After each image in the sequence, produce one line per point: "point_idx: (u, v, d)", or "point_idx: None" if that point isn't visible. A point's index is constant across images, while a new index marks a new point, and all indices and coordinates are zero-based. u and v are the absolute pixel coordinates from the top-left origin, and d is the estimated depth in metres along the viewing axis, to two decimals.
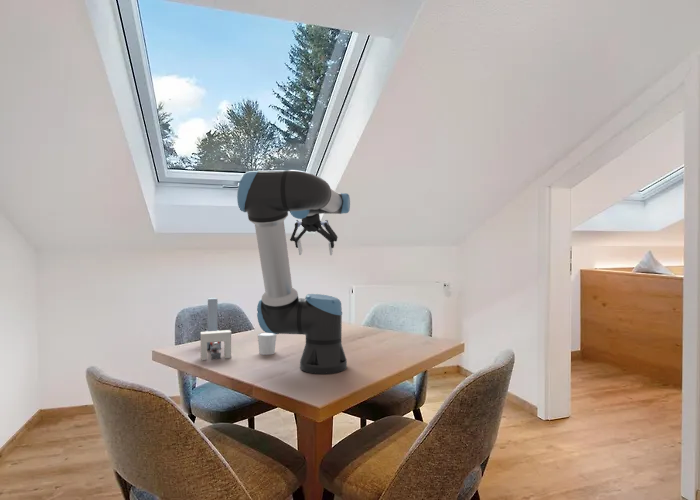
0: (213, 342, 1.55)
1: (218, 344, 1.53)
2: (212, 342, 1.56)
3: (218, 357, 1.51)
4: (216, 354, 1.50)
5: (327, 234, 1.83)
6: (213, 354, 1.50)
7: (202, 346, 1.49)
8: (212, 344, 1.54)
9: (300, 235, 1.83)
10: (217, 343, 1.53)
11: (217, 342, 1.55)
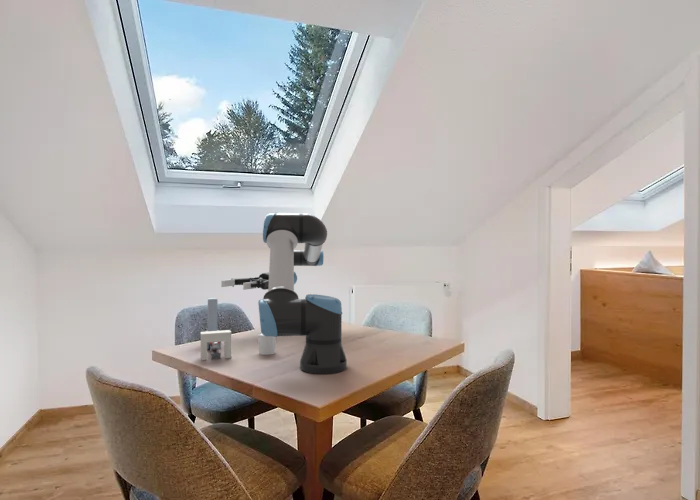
0: (213, 342, 1.55)
1: (218, 344, 1.53)
2: (212, 342, 1.56)
3: (218, 357, 1.51)
4: (216, 354, 1.50)
5: None
6: (213, 354, 1.50)
7: (202, 346, 1.49)
8: (212, 344, 1.54)
9: (243, 279, 1.92)
10: (217, 343, 1.53)
11: (217, 342, 1.55)
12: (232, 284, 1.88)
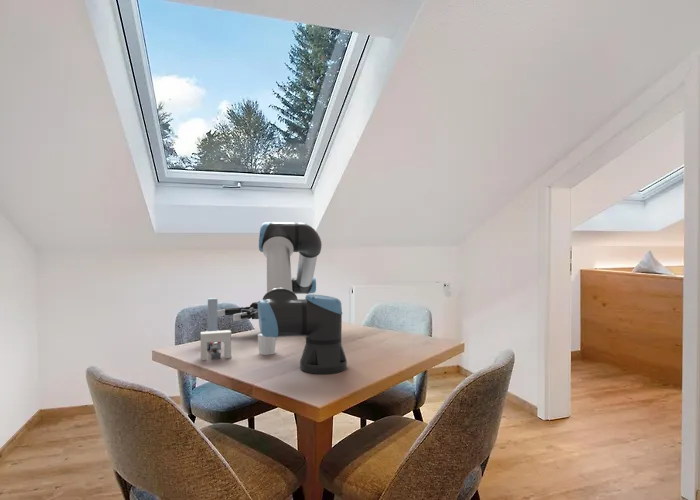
0: (213, 342, 1.55)
1: (218, 344, 1.53)
2: (212, 342, 1.56)
3: (218, 357, 1.51)
4: (216, 354, 1.50)
5: None
6: (213, 354, 1.50)
7: (202, 346, 1.49)
8: (212, 344, 1.54)
9: (233, 309, 1.89)
10: (217, 343, 1.53)
11: (217, 342, 1.55)
12: (222, 314, 1.85)
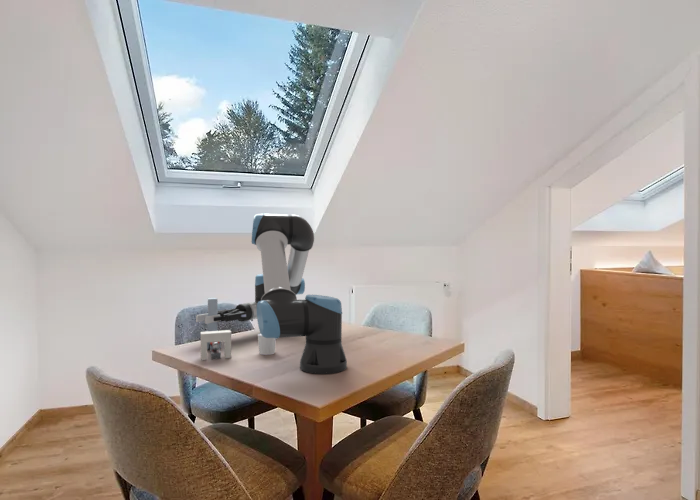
0: (213, 342, 1.55)
1: (218, 344, 1.53)
2: (212, 342, 1.56)
3: (218, 357, 1.51)
4: (216, 354, 1.50)
5: (228, 316, 1.75)
6: (213, 354, 1.50)
7: (202, 346, 1.49)
8: (212, 344, 1.54)
9: (219, 312, 1.79)
10: (217, 343, 1.53)
11: (217, 342, 1.55)
12: None
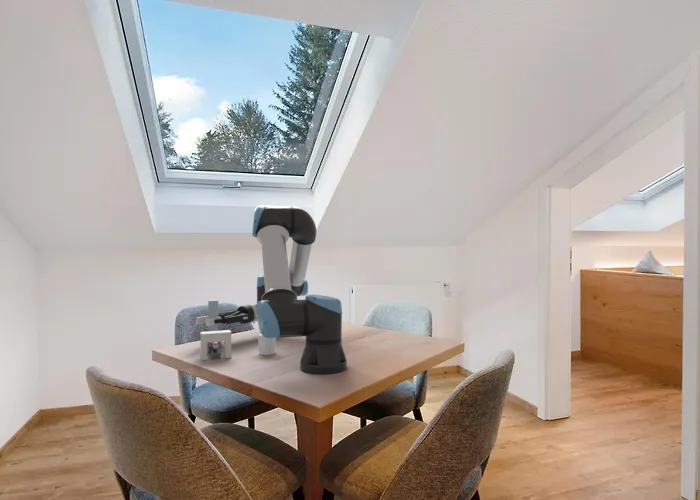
0: (213, 342, 1.55)
1: (218, 344, 1.53)
2: (212, 342, 1.56)
3: (218, 357, 1.51)
4: (216, 354, 1.50)
5: None
6: (213, 354, 1.50)
7: (202, 346, 1.49)
8: (212, 344, 1.54)
9: (220, 314, 1.74)
10: (217, 343, 1.53)
11: (217, 342, 1.55)
12: None
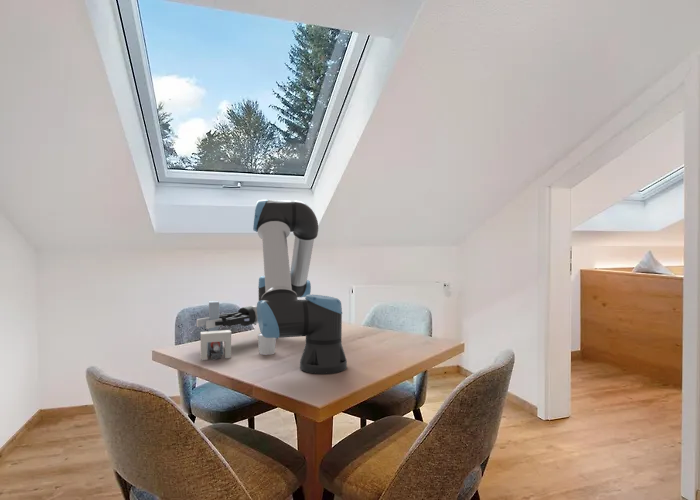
0: (214, 344, 1.51)
1: (219, 346, 1.50)
2: (213, 344, 1.53)
3: (218, 357, 1.51)
4: (216, 354, 1.50)
5: None
6: (213, 354, 1.50)
7: (202, 346, 1.49)
8: (213, 346, 1.51)
9: (221, 315, 1.70)
10: (218, 345, 1.49)
11: (218, 344, 1.51)
12: None
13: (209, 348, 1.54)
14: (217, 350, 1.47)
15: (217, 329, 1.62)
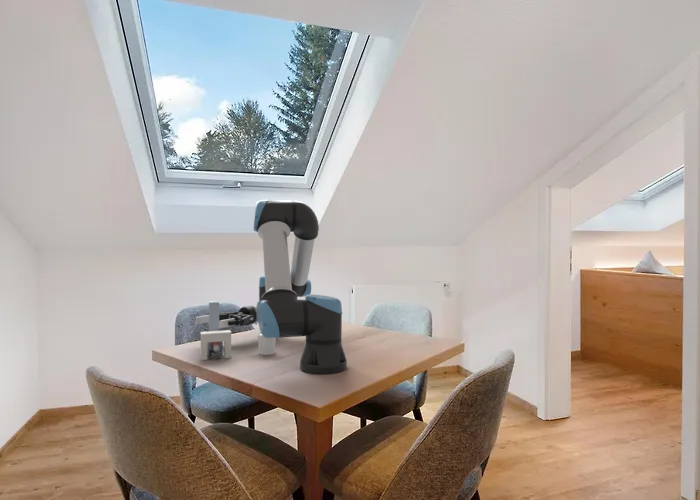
0: (214, 344, 1.51)
1: (219, 346, 1.50)
2: (213, 344, 1.53)
3: (218, 357, 1.51)
4: (216, 354, 1.50)
5: None
6: (213, 354, 1.50)
7: (202, 346, 1.49)
8: (213, 346, 1.51)
9: (220, 314, 1.72)
10: (218, 345, 1.49)
11: (218, 344, 1.51)
12: (208, 320, 1.69)
13: (209, 348, 1.54)
14: (217, 350, 1.47)
15: (217, 329, 1.62)
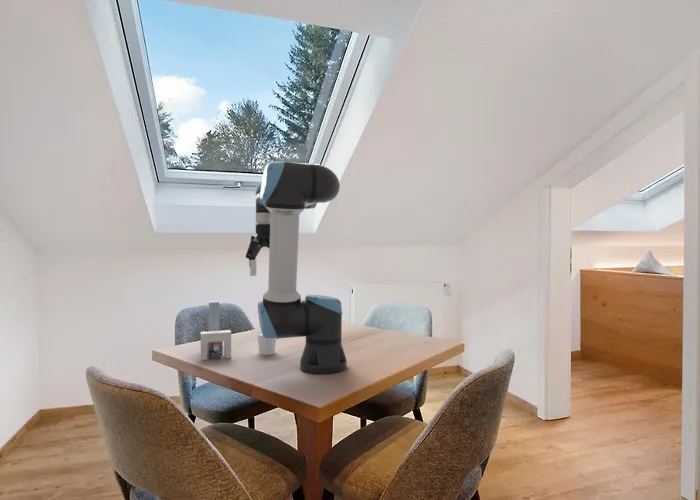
0: (214, 344, 1.51)
1: (219, 346, 1.50)
2: (213, 344, 1.53)
3: (218, 357, 1.51)
4: (216, 354, 1.50)
5: None
6: (213, 354, 1.50)
7: (202, 346, 1.49)
8: (213, 346, 1.51)
9: (253, 251, 1.77)
10: (218, 345, 1.49)
11: (218, 344, 1.51)
12: (255, 262, 1.80)
13: (209, 348, 1.54)
14: (217, 350, 1.47)
15: (217, 329, 1.62)
